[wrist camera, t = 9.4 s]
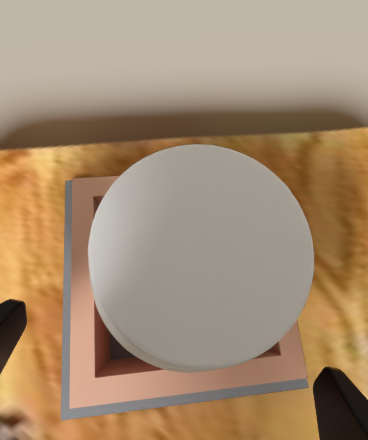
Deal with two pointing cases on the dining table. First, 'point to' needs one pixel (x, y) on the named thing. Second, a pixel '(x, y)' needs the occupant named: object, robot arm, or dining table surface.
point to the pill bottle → (199, 258)
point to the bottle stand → (124, 360)
